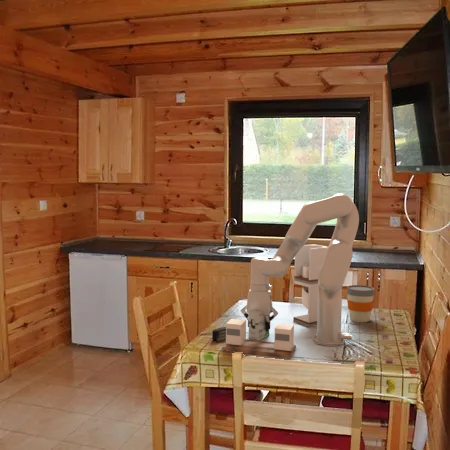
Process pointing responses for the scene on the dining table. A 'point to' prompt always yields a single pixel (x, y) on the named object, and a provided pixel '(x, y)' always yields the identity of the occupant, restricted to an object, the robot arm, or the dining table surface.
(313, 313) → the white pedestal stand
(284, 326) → the mounted modules
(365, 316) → the reusable coffee cup
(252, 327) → the ink box
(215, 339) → the mobile phone
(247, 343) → the rail board
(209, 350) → the dining table surface
